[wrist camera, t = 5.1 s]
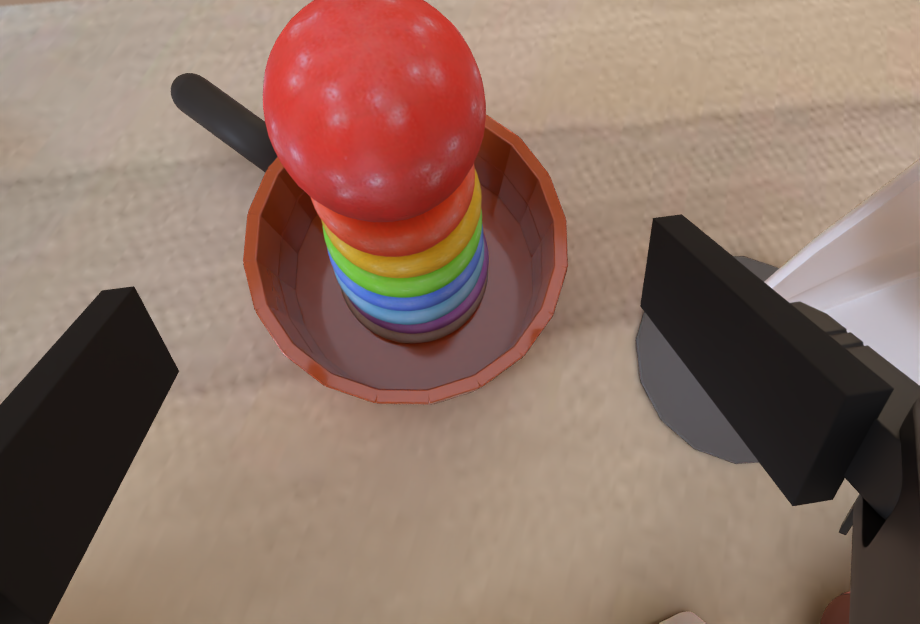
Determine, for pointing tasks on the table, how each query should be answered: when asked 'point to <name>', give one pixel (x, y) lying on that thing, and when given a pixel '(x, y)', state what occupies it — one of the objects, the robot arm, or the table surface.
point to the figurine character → (837, 610)
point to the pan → (411, 364)
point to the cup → (822, 287)
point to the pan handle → (224, 118)
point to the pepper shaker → (683, 619)
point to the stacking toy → (386, 157)
